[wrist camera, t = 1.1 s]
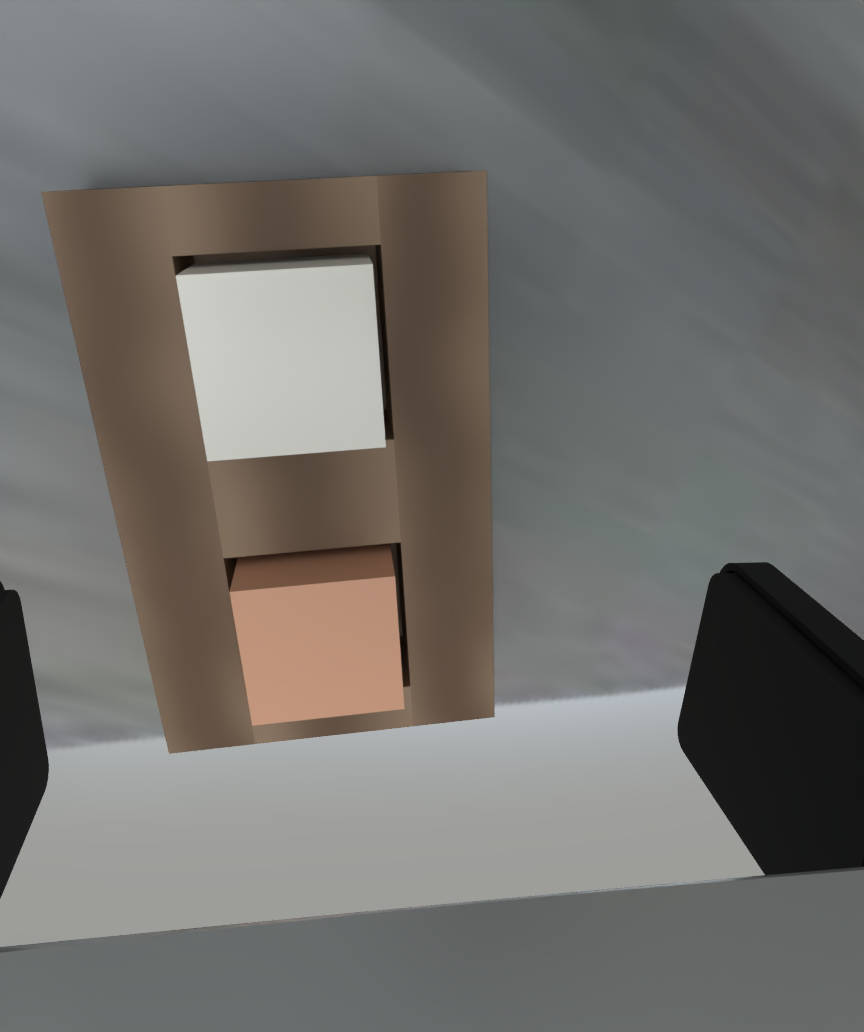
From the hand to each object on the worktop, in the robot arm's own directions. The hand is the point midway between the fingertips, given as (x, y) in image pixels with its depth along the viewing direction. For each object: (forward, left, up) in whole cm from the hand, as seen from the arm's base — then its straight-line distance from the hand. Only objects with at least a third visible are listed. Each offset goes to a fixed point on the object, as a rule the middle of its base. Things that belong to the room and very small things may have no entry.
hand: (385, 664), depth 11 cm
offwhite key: (+2, -1, -20) cm, 20 cm away
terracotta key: (+2, +10, -20) cm, 23 cm away
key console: (+2, +5, -23) cm, 24 cm away
